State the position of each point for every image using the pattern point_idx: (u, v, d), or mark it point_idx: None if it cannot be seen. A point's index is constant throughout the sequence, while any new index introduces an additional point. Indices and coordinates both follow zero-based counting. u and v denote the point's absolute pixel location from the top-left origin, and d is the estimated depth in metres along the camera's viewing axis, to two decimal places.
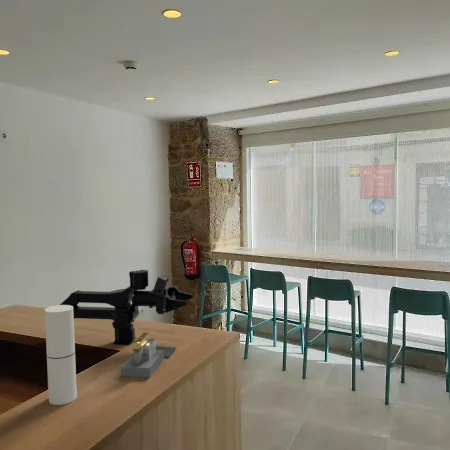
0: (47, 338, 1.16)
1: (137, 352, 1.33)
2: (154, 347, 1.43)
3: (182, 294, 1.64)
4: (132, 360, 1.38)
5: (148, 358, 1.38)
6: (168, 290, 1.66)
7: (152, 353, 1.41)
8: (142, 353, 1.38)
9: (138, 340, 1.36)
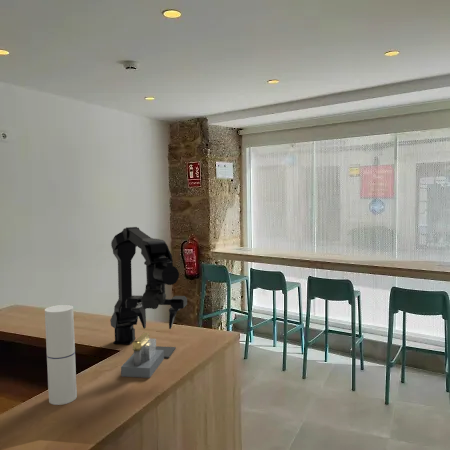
0: (47, 338, 1.16)
1: (137, 352, 1.33)
2: (154, 347, 1.43)
3: None
4: (132, 360, 1.38)
5: (148, 358, 1.38)
6: None
7: (152, 353, 1.41)
8: (142, 353, 1.38)
9: (138, 340, 1.36)
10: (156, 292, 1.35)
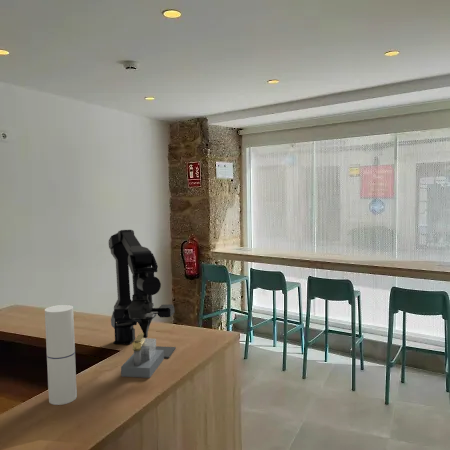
0: (47, 338, 1.16)
1: (137, 352, 1.33)
2: (154, 347, 1.43)
3: None
4: (132, 360, 1.38)
5: (148, 358, 1.38)
6: None
7: (152, 353, 1.41)
8: (142, 353, 1.38)
9: (137, 340, 1.36)
10: (143, 302, 1.36)
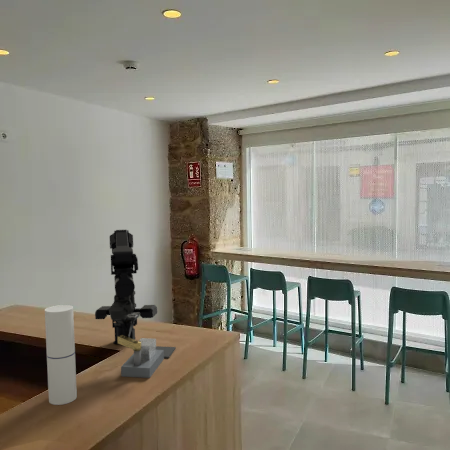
0: (47, 338, 1.16)
1: (137, 352, 1.33)
2: (154, 347, 1.43)
3: None
4: (132, 360, 1.38)
5: (148, 358, 1.38)
6: None
7: (152, 353, 1.41)
8: (142, 353, 1.38)
9: (133, 341, 1.35)
10: (124, 302, 1.34)
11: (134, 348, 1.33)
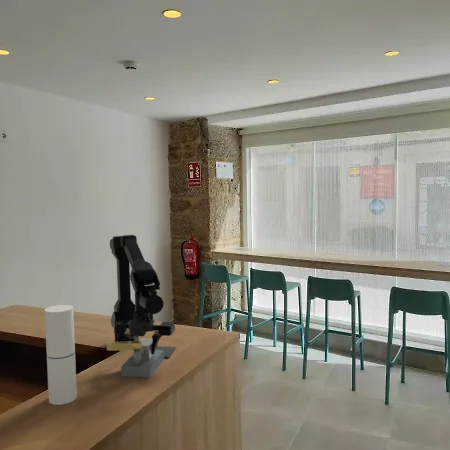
0: (47, 338, 1.16)
1: (137, 352, 1.33)
2: None
3: None
4: (132, 360, 1.38)
5: (148, 358, 1.38)
6: None
7: None
8: (142, 353, 1.38)
9: (131, 342, 1.34)
10: (144, 319, 1.36)
11: (137, 348, 1.33)
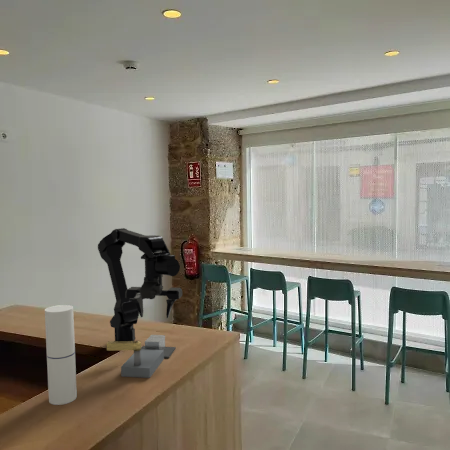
0: (47, 338, 1.16)
1: (137, 352, 1.33)
2: (163, 343, 1.54)
3: None
4: (132, 360, 1.38)
5: None
6: None
7: (161, 348, 1.52)
8: (153, 349, 1.49)
9: (131, 342, 1.34)
10: (153, 284, 1.46)
11: (137, 348, 1.33)
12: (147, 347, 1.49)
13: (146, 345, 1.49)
